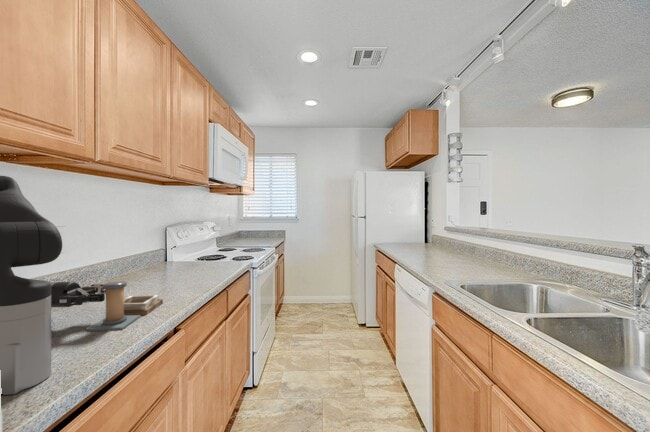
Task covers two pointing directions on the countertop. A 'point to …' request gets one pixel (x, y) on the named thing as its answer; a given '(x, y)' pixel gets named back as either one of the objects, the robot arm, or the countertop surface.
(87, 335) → the countertop surface
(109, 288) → the cable spool
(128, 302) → the square wooden tray
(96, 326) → the slate mat
